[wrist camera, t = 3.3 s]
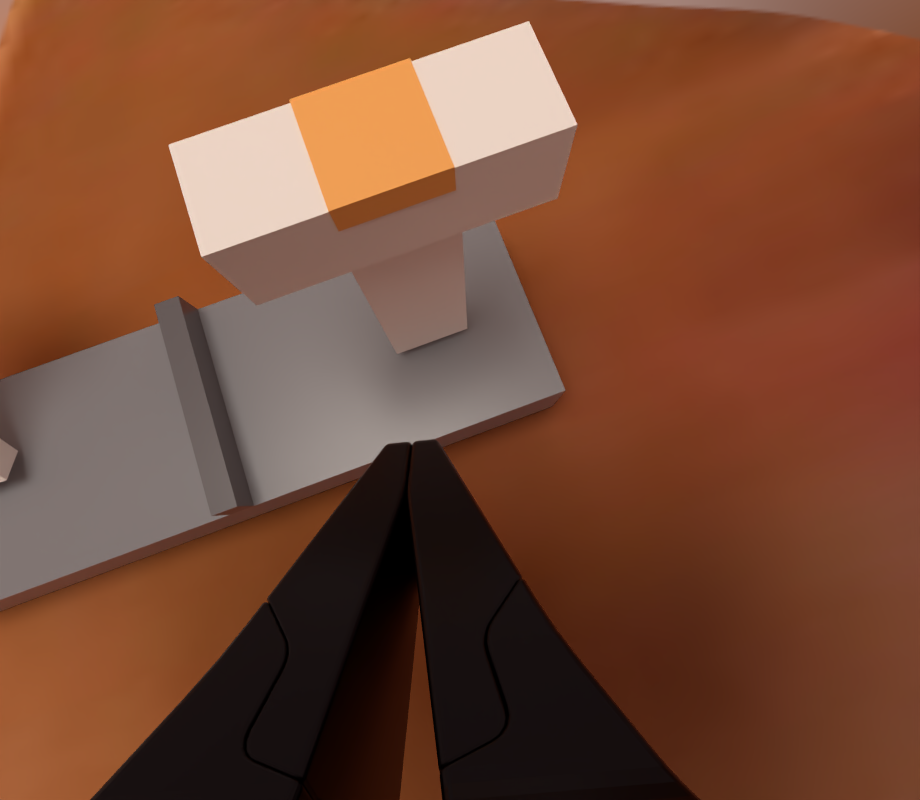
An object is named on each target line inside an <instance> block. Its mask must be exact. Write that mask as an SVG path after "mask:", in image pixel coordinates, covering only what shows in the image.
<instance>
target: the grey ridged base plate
mask: <svg viewBox="0 0 920 800" xmlns="http://www.w3.org/2000/svg"><path fill="white" fill-rule="evenodd" d="M462 236H463V254H464V273H465V292H466V311H467V329H465V330H462V331H459V332H457V333H454V334H451V335H448V336H446V337H443V338H440V339H437V340H435V341H432V342H429V343H426V344H424V345H421V346H418V347H415V348H413V349H410V350H407V351H404V352H402V353H399V354H397V353H396V351H395V350H394V348H393V346H392V344H391V342H390V341H389V339H388V337H387V335H386V333H385V331H384V330H383V328H382V326H381V324H380V322H379V321H378V319H377V317H376V315H375V313H374V312H373V310H372V308H371V306H370V304H369V303H368V301H367V299H366V297H365V295H364V293H363V292H362V290H361V288H360V286H359V284H358V283H357V281H356V279H355V277H354V275H353V274H352V272H349V273H347V274H344V275H341V276H338V277H335V278H333V279H330V280H327V281H324V282H321V283H319V284H316V285H313V286H310V287H307V288H304V289H302V290H299V291H296V292H293V293H290V294H288V295H285V296H282V297H279V298H276V299H274V300H271V301H268V302H265V303H262V304H260V305H256V304H255V303H253V302H252V301H251V300H250V299H249V298H248V297H247V296H245V295H244V294H240V295H237V296H234V297H231V298H229V299H226V300H223V301H220V302H217V303H215V304H212V305H209V306H206V307H203V308H200V309H196V308H195V307H193V306H192V305H190V304H189V303H188V302H186V301H185V300H183V299H182V298H180V297H179V296H177V297H174V298H172V299H169V300H166V301H163V302H160V303H157V304H155V305H154V306H155V310H156V314H157V317H158V321H159V323H158V324H155V325H153V326H150V327H147V328H144V329H141V330H139V331H136V332H133V333H130V334H127V335H124V336H122V337H119V338H116V339H113V340H110V341H108V342H105V343H102V344H99V345H96V346H94V347H91V348H88V349H85V350H82V351H79V352H77V353H74V354H71V355H68V356H65V357H63V358H60V359H57V360H54V361H51V362H48V363H46V364H43V365H40V366H37V367H34V368H32V369H29V370H26V371H23V372H20V373H18V374H15V375H12V376H9V377H6V378H3V379H1V380H0V439H1V440H3V441H4V442H6V443H7V444H9V445H10V446H12V447H13V448H14V449H16V450H17V451H18V452H17V455H16V458H15V460H14V463H13V465H12V468H11V470H10V473H9V476H8V478H7V480H6V481H3V482H0V611H2V610H5V609H8V608H11V607H13V606H16V605H19V604H21V603H24V602H27V601H29V600H32V599H35V598H37V597H40V596H43V595H46V594H48V593H51V592H54V591H56V590H59V589H62V588H64V587H67V586H70V585H72V584H75V583H78V582H81V581H83V580H86V579H89V578H91V577H94V576H97V575H99V574H102V573H105V572H107V571H110V570H113V569H116V568H118V567H121V566H124V565H126V564H129V563H132V562H134V561H137V560H140V559H142V558H145V557H148V556H151V555H153V554H156V553H159V552H161V551H164V550H167V549H169V548H172V547H175V546H178V545H180V544H183V543H186V542H188V541H191V540H194V539H196V538H199V537H202V536H204V535H207V534H210V533H213V532H215V531H218V530H221V529H223V528H226V527H229V526H231V525H234V524H237V523H239V522H242V521H245V520H248V519H250V518H253V517H256V516H258V515H261V514H264V513H266V512H269V511H272V510H274V509H277V508H280V507H283V506H285V505H288V504H291V503H293V502H296V501H299V500H301V499H304V498H307V497H309V496H312V495H315V494H318V493H320V492H323V491H326V490H328V489H331V488H334V487H336V486H339V485H342V484H344V483H347V482H350V481H353V480H355V479H358V478H360V477H361V476H362V475H363V474H364V472H365V471H366V470H367V468H368V467H369V466H370V465H371V463H372V462H373V461H374V459H375V458H376V457H377V455H378V454H379V453H380V452H381V450H382V449H383V448H384V446H385V445H387V444H390V443H399V442H410V443H411V444H413V443H414V442H415V441H420V440H431V439H435V440H437V441H438V442H439V443H440V445H441V446H442V447H444V446H447V445H450V444H452V443H455V442H458V441H460V440H463V439H466V438H468V437H471V436H474V435H476V434H479V433H482V432H485V431H487V430H490V429H493V428H495V427H498V426H501V425H503V424H506V423H509V422H511V421H514V420H517V419H520V418H522V417H525V416H528V415H530V414H533V413H536V412H538V411H541V410H544V409H546V408H549V407H552V406H553V405H554V404H555V402H556V401H557V400H558V399H559V398H560V396H561V395H562V394H563V393H564V392H565V388H564V386H563V383H562V381H561V379H560V376H559V374H558V371H557V369H556V367H555V364H554V362H553V359H552V357H551V355H550V352H549V350H548V347H547V345H546V343H545V340H544V338H543V335H542V333H541V331H540V328H539V326H538V323H537V321H536V319H535V316H534V314H533V311H532V309H531V307H530V304H529V302H528V299H527V297H526V295H525V292H524V290H523V287H522V285H521V283H520V280H519V278H518V275H517V273H516V271H515V268H514V266H513V263H512V261H511V259H510V256H509V254H508V252H507V249H506V247H505V244H504V242H503V240H502V237H501V235H500V232H499V230H498V228H497V225H496V223H495V221H492V222H490V223H487V224H484V225H481V226H478V227H476V228H473V229H470V230H467V231H464V232H462Z"/></svg>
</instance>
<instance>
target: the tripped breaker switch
mask: <svg viewBox="0 0 920 800" xmlns="http://www.w3.org/2000/svg"><path fill="white" fill-rule="evenodd" d="M289 101H290V103H289V104H286V105H283V106H280V107H277V108H274V109H272V110H269V111H266V112H263V113H260V114H257V115H254V116H251V117H248V118H245V119H242V120H239V121H237V122H234V123H231V124H228V125H225V126H222V127H219V128H216V129H213V130H210V131H207V132H204V133H202V134H199V135H196V136H193V137H190V138H187V139H184V140H181V141H178V142H175V143H172V144H169V148H170V152H171V155H172V159H173V162H174V165H175V169H176V172H177V176H178V179H179V182H180V186H181V189H182V193H183V196H184V199H185V203H186V206H187V210H188V213H189V216H190V220H191V223H192V227H193V230H194V233H195V237H196V240H197V244H198V247H199V250H200V254H201V257H202V258H203V259H204V260H205V261H207V262H208V263H209V264H210V265H211V266H212V267H213V268H215V269H216V270H217V271H218V272H219V273H220V274H221V275H223V276H224V277H225V278H226V279H227V280H228V281H229V282H231V283H232V284H233V285H234V286H235V287H236V288H237V289H239V290H240V291H241V292H242V293H243V294H244V295H245V296H247V297H248V298H249V299H250V300H251V301H252V302H253V303H255V304H256V305H260V304H262V303H265V302H268V301H271V300H274V299H276V298H279V297H282V296H285V295H288V294H290V293H293V292H296V291H299V290H302V289H304V288H307V287H310V286H313V285H316V284H319V283H321V282H324V281H327V280H330V279H333V278H335V277H338V276H341V275H344V274H347V273H349V272H352V274H353V275H354V277H355V279H356V281H357V283H358V284H359V286H360V288H361V290H362V292H363V293H364V295H365V297H366V299H367V301H368V303H369V304H370V306H371V308H372V310H373V312H374V313H375V315H376V317H377V319H378V321H379V322H380V324H381V326H382V328H383V330H384V331H385V333H386V335H387V337H388V339H389V341H390V342H391V344H392V346H393V348H394V350H395V351H396V353H397V354H399V353H402V352H404V351H407V350H410V349H413V348H415V347H418V346H421V345H424V344H426V343H429V342H432V341H435V340H437V339H440V338H443V337H446V336H448V335H451V334H454V333H457V332H459V331H462V330H465V329H467V311H466V292H465V273H464V254H463V236H462V232H464V231H467V230H470V229H473V228H476V227H478V226H481V225H484V224H487V223H490V222H492V221H495V220H498V219H501V218H504V217H506V216H509V215H512V214H515V213H518V212H521V211H523V210H526V209H529V208H532V207H535V206H537V205H540V204H543V203H546V202H549V201H551V200H554V199H557V198H558V194H559V191H560V187H561V183H562V180H563V176H564V172H565V169H566V165H567V161H568V157H569V154H570V150H571V146H572V143H573V139H574V135H575V132H576V128H577V123H576V121H575V119H574V116H573V114H572V112H571V110H570V108H569V106H568V104H567V102H566V99H565V97H564V95H563V93H562V91H561V89H560V87H559V85H558V82H557V80H556V78H555V76H554V74H553V72H552V70H551V67H550V65H549V63H548V61H547V59H546V57H545V55H544V53H543V50H542V48H541V46H540V44H539V42H538V40H537V38H536V35H535V33H534V31H533V29H532V27H531V25H530V23H529V21H528V22H525V23H522V24H519V25H516V26H514V27H511V28H508V29H505V30H502V31H499V32H496V33H493V34H490V35H487V36H484V37H481V38H479V39H476V40H473V41H470V42H467V43H464V44H461V45H458V46H455V47H452V48H449V49H446V50H444V51H441V52H438V53H435V54H432V55H429V56H426V57H423V58H420V59H417V60H414V61H411V60H410V58H409V59H406V60H403V61H400V62H397V63H394V64H391V65H388V66H386V67H383V68H380V69H377V70H374V71H371V72H368V73H365V74H362V75H359V76H356V77H353V78H350V79H348V80H345V81H342V82H339V83H336V84H333V85H330V86H327V87H324V88H321V89H318V90H315V91H313V92H310V93H307V94H304V95H301V96H298V97H295V98H292V99H289Z"/></svg>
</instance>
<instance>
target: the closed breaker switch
mask: <svg viewBox="0 0 920 800" xmlns="http://www.w3.org/2000/svg"><path fill="white" fill-rule="evenodd" d="M17 452H18V451H17V450H16V449H14V448H13V447H12V446H10V445H9V444H7V443H6V442H4V441H3V440H1V439H0V482H3V481H6V480H7V478H8V476H9V473H10V470H11V468H12V465H13V463H14V460H15V458H16V455H17Z"/></svg>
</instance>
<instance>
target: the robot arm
mask: <svg viewBox="0 0 920 800" xmlns="http://www.w3.org/2000/svg"><path fill="white" fill-rule="evenodd" d="M267 601H268V603H269V604H268V603H267V602H265V603H263V604H262V605H261V607H260V608H259V609H258V611H257V612H256V613H255V615H254V616H253V617H252V618H251V620H250V621H249V622H248V624H247V625H246V626H245V627H244V629H243V630H242V631H241V632H240V634H239V635H238V636H237V637H236V638H235V640H234V641H233V642H232V643H231V645H230V646H229V647H228V648H227V650H226V651H225V652H224V653H223V654H222V656H221V657H220V658H219V659H218V660H217V662H216V663H215V664H214V665H213V666H212V667H211V668H210V669H209V671H208V672H207V673H206V674H205V675H204V676H203V677H202V679H201V680H200V681H199V682H198V683H197V684H196V685H195V686H194V688H193V689H192V690H191V691H190V692H189V693H188V694H187V695H186V697H185V698H184V699H183V700H182V701H181V702H180V703H179V704H178V705H177V706H176V707H175V709H174V710H173V711H172V712H171V713H170V714H169V715H168V716H167V717H166V718H165V719H164V720H163V722H162V723H161V724H160V725H159V726H158V727H157V728H156V729H155V730H154V731H153V732H152V733H151V735H150V736H149V737H148V738H147V739H146V740H145V741H144V742H143V743H142V744H141V745H140V746H139V748H138V749H137V750H136V751H135V752H134V753H133V754H132V755H131V756H130V757H129V758H128V759H127V761H126V762H125V763H124V764H123V765H122V766H121V767H120V768H119V769H118V770H117V771H116V772H115V774H114V775H113V776H112V777H111V778H110V779H109V780H108V781H107V782H106V783H105V784H104V785H103V787H102V788H101V789H100V790H99V791H98V792H97V793H96V794H95V795H94V796H93V797H92V798H91V799H90V800H399V799H400V789H401V779H402V769H403V759H404V749H405V739H406V729H407V719H408V709H409V699H410V689H411V679H412V669H413V659H414V649H415V639H416V629H417V619H418V609H419V605H420V614H421V622H422V631H423V639H424V648H425V656H426V664H427V673H428V681H429V690H430V698H431V707H432V715H433V724H434V732H435V740H436V749H437V757H438V766H439V770H440V783H441V791H442V800H700V799H699V798H698V797H697V796H696V795H695V794H694V793H693V792H692V791H691V790H690V789H689V788H688V787H687V786H686V785H685V784H684V783H683V782H682V781H681V780H680V779H679V778H678V777H677V776H676V775H675V774H674V773H673V772H672V771H671V769H670V768H669V767H668V766H667V765H666V764H665V763H664V762H663V760H662V759H661V758H660V757H659V756H658V755H657V753H656V752H655V751H654V750H653V749H652V747H651V746H650V745H649V744H648V743H647V741H646V740H645V739H644V738H643V736H642V735H641V734H640V733H639V732H638V730H637V729H636V728H635V727H634V726H633V724H632V723H631V722H630V721H629V719H628V718H627V717H626V716H625V715H624V713H623V712H622V711H621V710H620V708H619V707H618V706H617V705H616V704H615V702H614V701H613V700H612V699H611V697H610V696H609V695H608V694H607V693H606V691H605V690H604V689H603V688H602V686H601V685H600V684H599V683H598V682H597V680H596V679H595V678H594V677H593V675H592V674H591V673H590V672H589V671H588V669H587V668H586V667H585V666H584V664H583V663H582V662H581V661H580V659H579V658H578V657H577V655H576V654H575V653H574V652H573V650H572V649H571V648H570V646H569V645H568V644H567V642H566V641H565V640H564V639H563V637H562V636H561V635H560V633H559V632H558V631H557V629H556V628H555V626H554V625H553V623H552V622H551V620H550V619H549V617H548V616H547V614H546V613H545V611H544V610H543V608H542V607H541V605H540V604H539V602H538V601H537V599H536V598H535V596H534V595H533V593H532V591H531V590H530V588H529V586H528V585H527V583H526V582H525V580H523V579H522V576H521V574H520V572H519V571H518V569H517V568H516V566H515V564H514V563H513V561H512V559H511V558H510V556H509V555H508V553H507V551H506V550H505V548H504V547H503V545H502V543H501V542H500V540H499V538H498V537H497V535H496V534H495V532H494V530H493V529H492V527H491V525H490V524H489V522H488V521H487V519H486V517H485V516H484V514H483V513H482V511H481V509H480V508H479V506H478V504H477V503H476V501H475V500H474V498H473V496H472V495H471V493H470V492H469V490H468V488H467V487H466V485H465V483H464V482H463V480H462V479H461V477H460V475H459V474H458V472H457V470H456V469H455V467H454V466H453V464H452V462H451V461H450V459H449V458H448V456H447V454H446V453H445V451H444V449H443V448H442V446H441V445H440V443H439V442H438V441H437V440H435V439H431V440H420V441H415V442H414V443H413V444H411V443H410V442H399V443H390V444H387V445H385V446H384V448H383V449H382V450H381V452H380V453H379V454H378V455H377V457H376V458H375V459H374V461H373V462H372V463H371V465H370V466H369V467H368V468H367V470H366V471H365V472H364V474H363V475H362V476H361V477H360V479H359V480H358V481H357V483H356V484H355V485H354V487H353V488H352V489H351V490H350V492H349V493H348V494H347V496H346V497H345V498H344V500H343V501H342V502H341V503H340V505H339V506H338V507H337V509H336V510H335V511H334V512H333V514H332V515H331V516H330V518H329V519H328V520H327V522H326V523H325V524H324V525H323V527H322V528H321V529H320V531H319V532H318V533H317V535H316V536H315V537H314V538H313V540H312V541H311V542H310V544H309V545H308V546H307V547H306V549H305V550H304V551H303V553H302V554H301V555H300V557H299V558H298V559H297V560H296V562H295V563H294V564H293V566H292V567H291V568H290V570H289V571H288V572H287V573H286V575H285V576H284V577H283V579H282V580H281V581H280V582H279V584H278V585H277V586H276V588H275V589H274V590H273V592H272V593H271V594H270V595H269V597H268V599H267Z"/></svg>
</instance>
